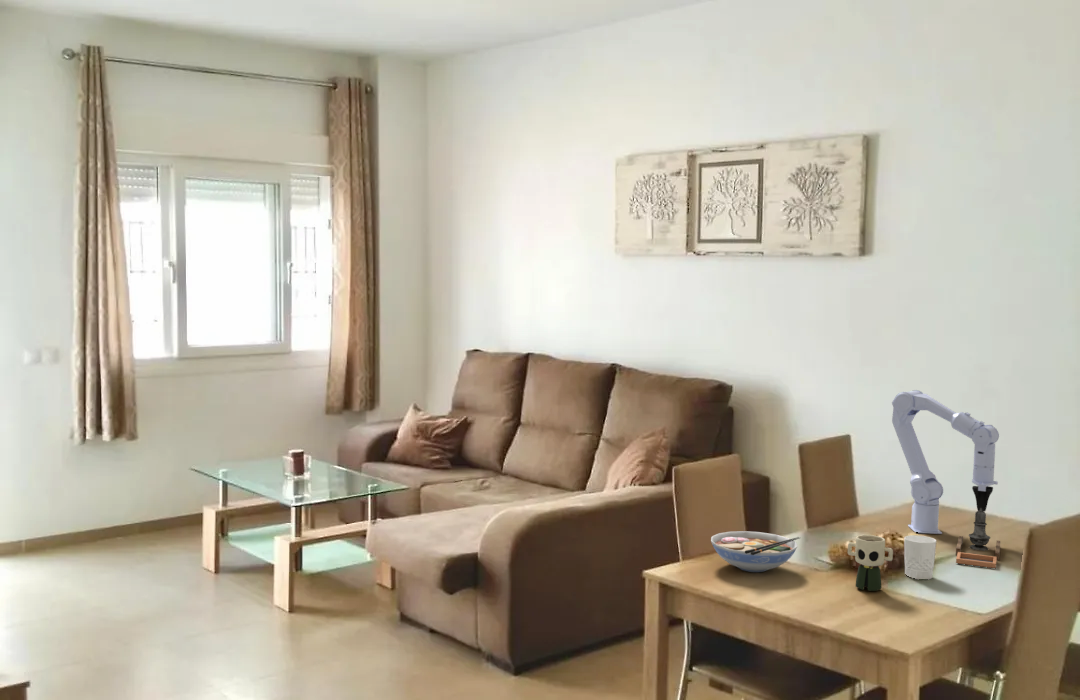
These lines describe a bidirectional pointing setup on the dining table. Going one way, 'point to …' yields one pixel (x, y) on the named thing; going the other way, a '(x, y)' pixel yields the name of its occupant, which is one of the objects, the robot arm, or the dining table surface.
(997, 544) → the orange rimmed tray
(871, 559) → the character mug
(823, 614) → the dining table surface
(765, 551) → the ramen bowl
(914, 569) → the white cup
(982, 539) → the dark grey figurine
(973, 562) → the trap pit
